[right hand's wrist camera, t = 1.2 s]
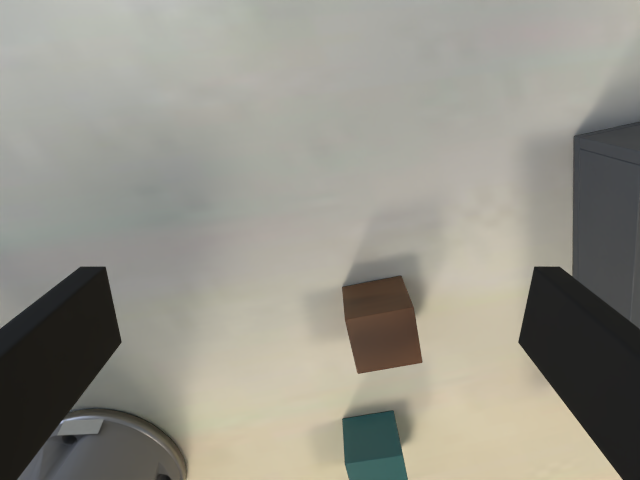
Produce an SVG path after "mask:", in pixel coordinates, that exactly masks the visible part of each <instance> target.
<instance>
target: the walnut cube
mask: <svg viewBox="0 0 640 480" xmlns="http://www.w3.org/2000/svg"><path fill="white" fill-rule="evenodd" d="M342 291H343V303H344V314H345V322H346V326H347V330H348V335H349V339H350V343H351V348H352V352H353V356H354V360H355V365H356V369H357V373H358V374H360V373H365V372H371V371H377V370H383V369H389V368H394V367H400V366H406V365H412V364H418V363H422V357H421V350H420V344H419V338H418V331H417V325H416V319H415V312H414V307H413V304H412V302H411V299H410V297H409V294H408V292H407V289H406V286H405V284H404V281H403V279H402V276H397V277H392V278H386V279H381V280H376V281H371V282H366V283H361V284H355V285H350V286H345V287H342Z"/></svg>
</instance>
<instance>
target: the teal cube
mask: <svg viewBox="0 0 640 480" xmlns="http://www.w3.org/2000/svg"><path fill="white" fill-rule="evenodd" d="M342 420H343V439H344V457H345V466H346V470H347V473H348V477H349V480H408V478H407V473H406V468H405V463H404V458H403V453H402V449H401V444H400V439H399V434H398V430H397V425H396V420H395V415H394V411H387V412H381V413H375V414H369V415H363V416H357V417H351V418H344V419H342Z"/></svg>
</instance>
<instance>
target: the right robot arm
mask: <svg viewBox="0 0 640 480" xmlns="http://www.w3.org/2000/svg"><path fill="white" fill-rule="evenodd" d="M120 344H121V337H120V332H119V328H118V323H117V318H116V314H115V309H114V304H113V299H112V295H111V290H110V285H109V281H108V276H107V271H106V267H80V268H78V269H77V270H76V271H74V272H73V273H72V274H70V275H69V276H68V277H67V278H65V279H64V280H63V281H61V282H60V283H59V284H58V285H56V286H55V287H54V288H52V289H51V290H50V291H48V292H47V293H46V294H45V295H43V296H42V297H41V298H39V299H38V300H37V301H36V302H34V303H33V304H32V305H30V306H29V307H28V308H27V309H25V310H24V311H23V312H21V313H20V314H19V315H17V316H16V317H15V318H14V319H12V320H11V321H10V322H8V323H7V324H6V325H5V326H3V327H2V328H1V329H0V480H186V466H185V462H184V459H183V457H182V454H181V453H180V451H179V449H178V448H177V446H176V445H175V444H174V442H173V441H172V440H171V439H170V438H169V437H168V436H167V435H166V434H165V433H163V432H162V431H161V430H160V429H158V428H157V427H155V426H154V425H152V424H150V423H149V422H147V421H145V420H143V419H141V418H138V417H136V416H133V415H130V414H127V413H123V412H119V411H114V410H106V409H86V410H79V411H74V412H71V413H68V412H69V411H70V410H71V408H72V407H73V406H74V404H75V403H76V402H77V400H78V399H79V398H80V396H81V395H82V394H83V392H84V391H85V390H86V389H87V387H88V386H89V385H90V383H91V382H92V381H93V379H94V378H95V377H96V375H97V374H98V373H99V371H100V370H101V369H102V367H103V366H104V365H105V364H106V362H107V361H108V360H109V358H110V357H111V356H112V354H113V353H114V352H115V350H116V349H117V348H118V346H119V345H120ZM519 344H520V345H521V346H522V348H523V349H524V350H525V352H526V353H527V354H528V356H529V357H530V358H531V360H532V361H533V362H534V364H535V365H536V366H537V367H538V369H539V370H540V371H541V373H542V374H543V375H544V377H545V378H546V379H547V381H548V382H549V383H550V385H551V386H552V387H553V389H554V390H555V391H556V392H557V394H558V395H559V396H560V398H561V399H562V400H563V402H564V403H565V404H566V406H567V407H568V408H569V410H570V411H571V412H572V413H573V415H574V416H575V417H576V419H577V420H578V421H579V423H580V424H581V425H582V427H583V428H584V429H585V431H586V432H587V433H588V435H589V436H590V437H591V438H592V440H593V441H594V442H595V444H596V445H597V446H598V448H599V449H600V450H601V452H602V453H603V454H604V456H605V457H606V458H607V460H608V461H609V462H610V463H611V465H612V466H613V467H614V469H615V470H616V471H617V473H618V474H619V475H620V477H621V478H622V479H623V480H640V329H639V328H638V327H637V326H635V325H634V324H633V323H632V322H630V321H629V320H628V319H626V318H625V317H624V316H623V315H621V314H620V313H619V312H617V311H616V310H615V309H613V308H612V307H611V306H610V305H608V304H607V303H606V302H604V301H603V300H602V299H601V298H599V297H598V296H597V295H595V294H594V293H593V292H592V291H590V290H589V289H588V288H586V287H585V286H584V285H582V284H581V283H580V282H579V281H577V280H576V279H575V278H573V277H572V276H571V275H570V274H568V273H567V272H566V271H564V270H563V269H562V268H560V267H534V271H533V276H532V281H531V285H530V290H529V295H528V299H527V304H526V309H525V314H524V318H523V323H522V328H521V332H520V337H519ZM67 413H68V414H67Z"/></svg>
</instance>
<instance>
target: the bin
mask: <svg viewBox="0 0 640 480" xmlns="http://www.w3.org/2000/svg"><path fill="white" fill-rule="evenodd" d="M573 278H575V279H576V280H577V281H579V282H580V283H581V284H582V285H584V286H585V287H586V288H588V289H589V290H590V291H592V292H593V293H594V294H595V295H597V296H598V297H599V298H601V299H602V300H603V301H604V302H606V303H607V304H608V305H610V306H611V307H612V308H613V309H615V310H616V311H617V312H619V313H620V314H621V315H623V316H624V317H625V318H626V319H628V320H629V321H630V322H632V323H633V324H634V325H635V326H637V327H638V328H639V329H640V122H637V123H633V124H628V125H623V126H619V127H614V128H609V129H605V130H600V131H595V132H591V133H586V134H581V135H577V136H574V178H573Z"/></svg>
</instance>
